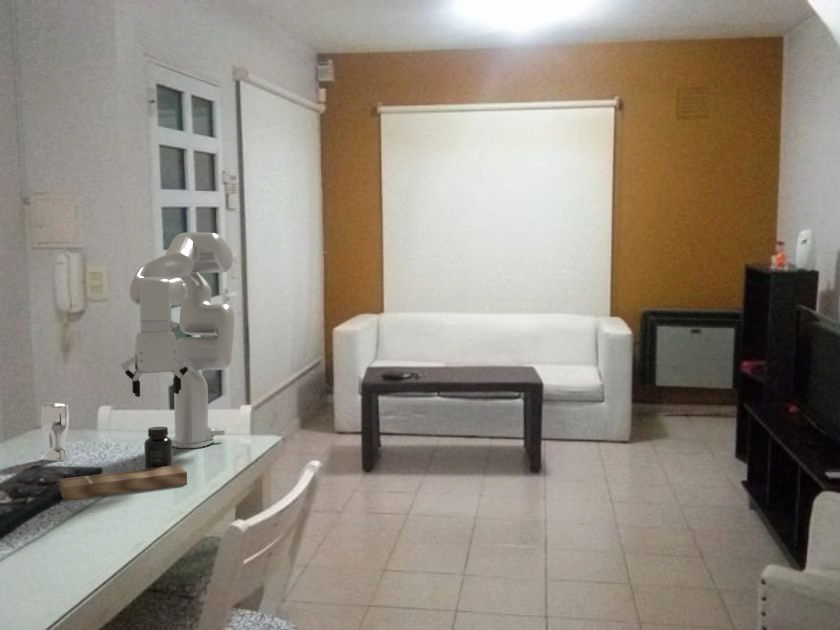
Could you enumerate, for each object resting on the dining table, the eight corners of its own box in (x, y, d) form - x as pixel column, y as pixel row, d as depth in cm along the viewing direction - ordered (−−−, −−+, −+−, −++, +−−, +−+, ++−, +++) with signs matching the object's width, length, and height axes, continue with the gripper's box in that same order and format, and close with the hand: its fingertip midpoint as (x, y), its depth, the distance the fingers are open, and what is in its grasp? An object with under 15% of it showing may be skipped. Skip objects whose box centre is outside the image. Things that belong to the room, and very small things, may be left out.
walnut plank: (179, 476, 214) (178, 464, 214) (187, 484, 208) (186, 471, 207) (59, 491, 201) (59, 478, 200) (64, 500, 194) (63, 487, 194)
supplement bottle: (178, 472, 218) (177, 426, 217) (160, 479, 212) (159, 432, 211) (157, 469, 221) (157, 424, 220) (139, 476, 215) (138, 429, 214)
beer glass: (74, 455, 235) (73, 402, 234) (61, 462, 228) (60, 407, 227) (51, 455, 235) (49, 402, 234) (37, 461, 229) (35, 406, 227)
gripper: (186, 325, 221) (187, 390, 222) (117, 327, 212) (118, 395, 213) (194, 327, 214) (195, 394, 215) (123, 329, 206) (124, 399, 207)
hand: (157, 394), depth 214 cm, fingers open, 9 cm apart
